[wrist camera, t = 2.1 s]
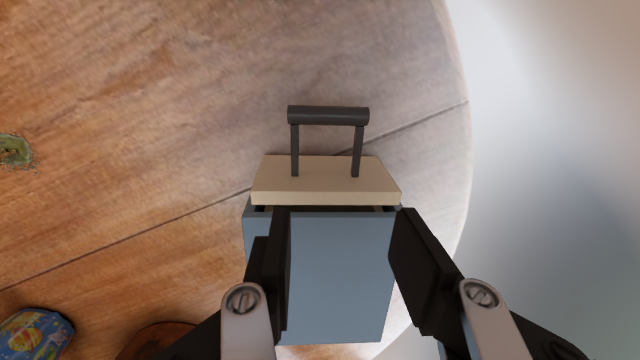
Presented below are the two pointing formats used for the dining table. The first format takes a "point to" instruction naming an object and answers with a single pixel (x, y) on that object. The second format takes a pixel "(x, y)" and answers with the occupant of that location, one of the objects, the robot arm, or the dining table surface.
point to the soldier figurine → (14, 151)
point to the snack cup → (34, 335)
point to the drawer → (324, 170)
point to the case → (153, 340)
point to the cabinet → (333, 273)
